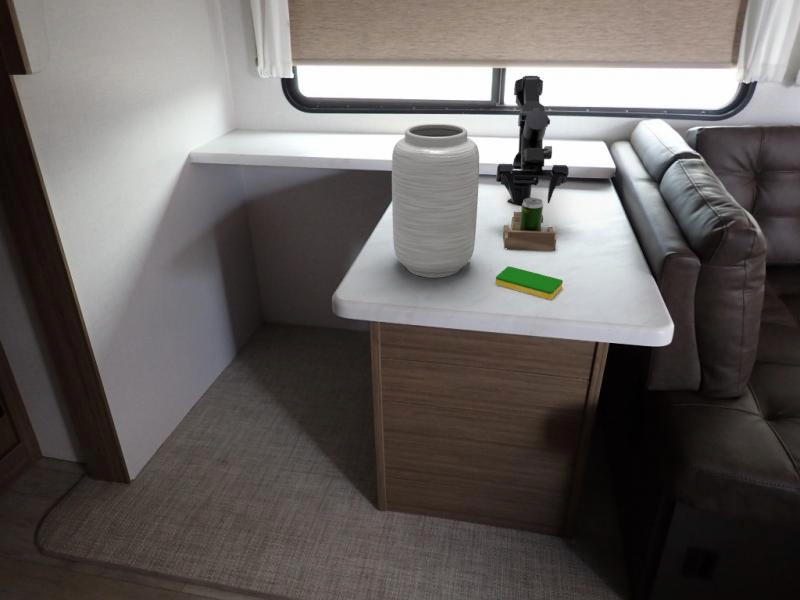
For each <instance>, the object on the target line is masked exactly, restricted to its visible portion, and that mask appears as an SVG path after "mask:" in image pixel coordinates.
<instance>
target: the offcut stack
mask: <svg viewBox="0 0 800 600" xmlns="http://www.w3.org/2000/svg"><path fill="white" fill-rule="evenodd" d="M520 221H521V211H513V216H512V217H511V226H510V227H511V228H510V229H511V230H516V231H520ZM543 223H544V215H543V214H542V219H541V224H543ZM540 231H542V226H541V227H540Z"/></svg>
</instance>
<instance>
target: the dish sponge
mask: <svg viewBox="0 0 800 600" xmlns="http://www.w3.org/2000/svg"><path fill="white" fill-rule="evenodd" d="M563 283H564V281H563V279H561V278H556V277H552V276H548V275H545V274H541V273H537V272H534V271H529V270H525V269H521V268H518V267H514V266H507V267H506V268H504V269H503V270H502V271H500V273H499V274H498V275H496V276H495V285H496V286H499V287H503V288H506V289H510V290H513V291H514V290H515V291H517V292H521V293H525V294H528V295H532V296H535V297H539V298H542V299H546V300H553V298H555V296H556V295H557V294H558V293H559V292H560V291H561V290H562V288H563Z"/></svg>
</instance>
